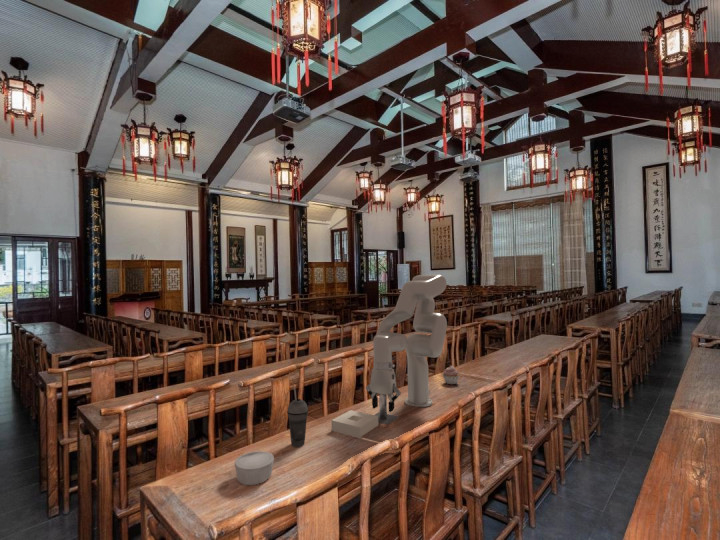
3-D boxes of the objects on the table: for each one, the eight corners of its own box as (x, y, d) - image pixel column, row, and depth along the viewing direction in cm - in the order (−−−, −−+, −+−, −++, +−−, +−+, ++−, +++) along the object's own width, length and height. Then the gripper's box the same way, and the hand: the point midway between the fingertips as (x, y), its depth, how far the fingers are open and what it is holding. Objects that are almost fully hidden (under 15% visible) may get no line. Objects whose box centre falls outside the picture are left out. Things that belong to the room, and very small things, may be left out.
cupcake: (441, 380, 211) (441, 363, 211) (459, 381, 209) (458, 363, 210) (442, 385, 202) (442, 366, 202) (460, 386, 200) (460, 367, 200)
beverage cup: (304, 449, 127) (303, 390, 128) (284, 448, 129) (283, 389, 129) (311, 440, 134) (310, 384, 135) (292, 439, 136) (291, 383, 136)
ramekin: (259, 464, 118) (259, 447, 118) (282, 475, 111) (282, 457, 111) (226, 479, 109) (226, 460, 109) (249, 492, 102) (249, 473, 102)
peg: (381, 416, 156) (381, 387, 156) (388, 417, 155) (387, 388, 155) (378, 418, 154) (377, 389, 154) (384, 420, 152) (384, 390, 152)
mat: (378, 413, 161) (378, 412, 161) (399, 417, 156) (399, 416, 156) (366, 420, 153) (366, 419, 153) (388, 425, 147) (388, 424, 147)
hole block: (350, 419, 154) (350, 410, 154) (378, 426, 147) (378, 416, 147) (331, 430, 143) (331, 420, 143) (360, 438, 136) (360, 427, 136)
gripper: (405, 366, 153) (406, 410, 153) (369, 361, 162) (369, 403, 162) (397, 370, 147) (397, 416, 146) (360, 364, 156) (360, 408, 156)
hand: (383, 408), depth 154 cm, fingers open, 6 cm apart
